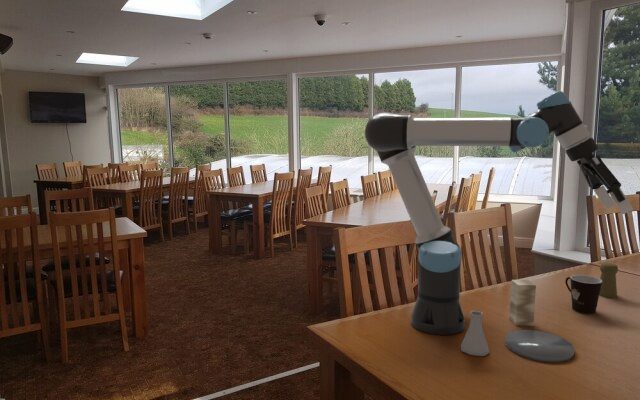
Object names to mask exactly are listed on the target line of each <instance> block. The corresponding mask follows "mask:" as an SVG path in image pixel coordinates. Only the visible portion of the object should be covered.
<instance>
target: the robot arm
mask: <svg viewBox="0 0 640 400" xmlns="http://www.w3.org/2000/svg"><path fill="white" fill-rule="evenodd" d="M536 107H537V110H536V111H534V112H533V113H531V114H530V115H528V116H526V117H458V118H457V117H452V118H451V117H450V118H449V117H446V118H443V117H442V118H439V117H438V118H436V117H435V118H431V117H430V118H425V117H423V118H414V117H413V116H412V115H411V114H397V113H392V112H385V111H384V112H380V113H376V114H374V115H373V116H372V117H371V118H369V120H368V121H367V123H366V126H365V128H364V137H365V140H366V142H367V144H368V145H369V146H370V147H371V148H372V149H373V150H375V151H376V153H377V155H378V157H379V159H380V161H381V163H382V164H385V165H386V166H387V167H388V169H389V171H390V173H391V175H392V178H393V180H394V183H395V186H396V188H397V190H398V193H399V195H400V197H401V200H402V202H403V205H404V207H405V209H406V211H407V215H408V217H409V219H410V221H411V223H412V225H413V228H414V231H415V233H416V235H417V236H416V237H415V240H414V243H415V245H416V247H417V250H418V255H417V260H418V271H417V272H418V273H417V274H418V276H417V298H416V300H415V304H414V305H413V306H414V307H413V310H412V312H411V315H410V323H411V325H412V327H414V329H417V330H419V331H420V332H423V333H427V334H432V335H437V336H438V335H439V336H441V335H442V336H443V335H444V336H445V335H446V336H447V335H454V334H455V335H456V334H458V333H461V332H463V331H464V330H465V326H466V324H465V323H466V319H465V315H464V312H463V309H462V305H461V301H460V291H461V267H462V264H461V263H462V261H463V260H462V259H463V254H462V253H463V252H462V248H461V246H460V245H459V244H458V242H457V241H456V240H455V236H454V235H453V232H452V230H451V228H450V227H449V226H446V225H444V224H443V221H442V219H441V217H440V216H441V215H440V214H439V212H438V209H437V206H436V205H435V202H434V200H433V196H432V195H431V193H430V190H429V188H428V186H427V183H426V181H425V177H424V175H423V174H422V171H421V169H420V167H419V164H418V162H417V160H416V159H417V158H416V157H415V152H416V149H417V146H418V147H421V146H422V147H428V146H429V147H508V148H509V150H511V152H513V153H518V152H519V151H521V150H525V148H537V147H539V146H541V145H542V144H544V142H546V140H547V139H548V137H549V135H551V134H552V133H553V134H554V135H555V138H556V140H557V141H558V143H559V144H560V146H561V147H562V149H565V153H566V155H567V158H568V159H569V161H571V162H577V165H578V166H579V168H580V170H581V172H582V174H583V176H584V178H585V181H586V183H587V185H588V187H589V188H591V189H592V190H593V191H594V193H595V195H596V196H597V199H598V200H599V201H600V203H601V205H602V206H603V208H604V209H605V210H606V211H607V210H609V209H611V208H614V207H617V208H618V210H619V212H620V213H621V215H625V214H627V213H630V212H631V211H633V210H634V207H633V206H632V205H631V203H630V201H629V200H628V198H627V197H626V195H625V193H624V191H623V190H622V188H621V187H622V184H621V182H620V181H619V180H618V178H617V177H616V176H615V175H614V174H613V173H612V171H611V169H609V168H608V165H606V164H605V163H604V161H603V160H602V158H601V156H600V155H596V156H595V154H594V153H595V152H596V151H597V150H598V149H599V146H598V144H597V143H596V141H595V139H594V138H593V137H591V133H590V132H589V130H588V128H589V126H588V125H587V124H586V125H585V123H584V122H583V120H582V118H581V117H580V116H579V114H578V112H577V111H576V109H575V107H574V105H573V104H572V102H571V101H570V100H569V98H568V97H567V95H566V93H565V92H564V91H562V90H558V91H555V92H554V93H552V94H550V95H548V96H546V97H545V98H543V99H541V100H539V101H538V102H537V103H536Z"/></svg>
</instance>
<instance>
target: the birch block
mask: <svg viewBox="0 0 640 400" xmlns="http://www.w3.org/2000/svg"><path fill="white" fill-rule="evenodd" d="M536 291H537V284H535V283H533V282H532V281H531V280H530V279H511V284H510V302H509V320H510V321H511V322H512V323H513V324H514V325H515V326H534V324H535V323H534V322H535V311H536V309H535V308H536Z"/></svg>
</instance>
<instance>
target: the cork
mask: <svg viewBox="0 0 640 400" xmlns="http://www.w3.org/2000/svg"><path fill="white" fill-rule="evenodd" d="M599 271H600V272H601V273H600V276H599V279H601V280H602V285H601V290H600V294H599V297H603V298H609V299H610V298H611V299H614V298H617V297H618V289H617V274H618V273H619V272H618V271H619V268H618V265H616V264H615V263H611V262H602V263H601V264H600V266H599Z"/></svg>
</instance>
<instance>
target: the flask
mask: <svg viewBox="0 0 640 400" xmlns="http://www.w3.org/2000/svg"><path fill="white" fill-rule="evenodd" d="M469 316H470V321H469V325H468V329H467V330H466V334H465V336H464V338H463V340H462V342H461V344H460V351H461V352H463V353H465V354H468V355H470V356H477V357H485V356H486V355H488V354H490V349H489V346H488V341H487V339H486V337H485V333H484V330H483V324H482V321H483V318H482V317H483V316H484V313H483V311H478V310H471V311H469Z"/></svg>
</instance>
